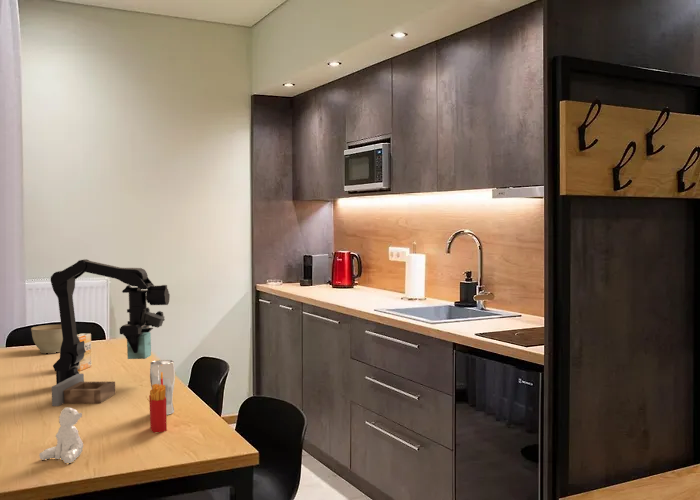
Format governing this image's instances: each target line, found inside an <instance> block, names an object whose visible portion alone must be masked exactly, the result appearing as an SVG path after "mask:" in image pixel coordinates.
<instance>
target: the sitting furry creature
mask: <svg viewBox="0 0 700 500" xmlns="http://www.w3.org/2000/svg"><path fill="white" fill-rule="evenodd" d="M82 417H83V412H79V411H78V410H77V409H75V408H73V407H70V406H69V407H64V408H63V409H62V410H61V412H60V414H59V416H58V418H59V419H58V420H59V421H58V423H59V426H60V427H59V428H58V431H57V433H56V434H55V438H56V441H57V442H56V446H52V447H48V448H46V449H44V450H43V451H42V452H39V455H38V456H39V459H40V460H41V459H42V460H45V459H50V458H55V459H60V458H61V460H64V461H63V463H64V464H65V463H71V462H73V461H74V460H75V461H76V460H77V459H78V458H77V457H80V455H81V454H82V453H83V448H84V442H83V439H81V436H80V434H79V430H78V429H77V427H76V426H75V425H76V424H77V423H78V422H79V420H80V419H81V418H82ZM76 458H77V459H76ZM42 460H41V461H42ZM61 460H60V461H61ZM75 461H74V462H75ZM74 462H73V463H74ZM71 464H72V463H71Z"/></svg>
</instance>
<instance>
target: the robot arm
mask: <svg viewBox="0 0 700 500" xmlns="http://www.w3.org/2000/svg"><path fill="white" fill-rule="evenodd" d="M85 273H88V274H92V275H97V276H101V277H102V276H103V277H107V278H112V279H115V280H118V281H120V282H121V283H123V284H126V286H125V288H124V289H123V290H122V291H121V293H123V294H124V293H127V294H128V308H127V309H126V313H128V314H129V315H128V316H129V318H128V319H129V321H126V322H127V323H125V324H123V325H121V326H120V327H119V335H123V336H124V337H125V339H126V342H127V341H128V342H129V344H130V346H131V348H132V350H133V352H134V353H138V346H139V337H140V336H141V335H142V334H143V333H141V332H150V333H151V331H152V330H153V329H154V328H160V327H162V326H163V323H164V322H165V316H164V312H163V311H161V310H159V311H157V312H156V313H155V312H151V311H150V308H149V307H148V306H147V304H149V305H150V306H168V305H169V302H170V297H171V295H170V291H169V289H168V285H167V284H162V285H154V283H153V282H152V281H151V279H150V278H149V277H148V272H147V271H146V270H145V269H144V268H143V267H142V268H141V267H120V266H114V265H110V264H105V263H101V262H98V261H97V262H96V261H92V260H89V259H85V258H84V259H79V260H78V261H77V262H75V263H73V264H72V265H70V266H68V267H67V268H64V269H63V270H58V271H55V272H54V273H53V274H52V275H51V276H50V283H51V287H52V288H51V289H52V290H53V292H54V294H55V296H56V297H57V302H58V310H59V318H60V325H61V328H62V336H63V341H62V344H61V348H60V352H59V358H58V359H57V360H56V362H54V363H53V365H52V367H53V369H54V372H55V381H56V384H58V383H60V382H62V381H64V380H66V379H68V378H70V377H72V376H74V375H76V374H80V371H78V367H76V366H78V365H79V362H80V361H81V360H82V359H83V358H84V353H85V352H86V351H85V348H84V341H81V342H80V340H79V339H78V337H77V335H78V332H77V324H76V314H75V305H74V299H73V297H74V296H73V295H74V291H75V288H76V280H77V279H78V278H80V277H81V276H82V275H83V274H85ZM150 326H151V327H150ZM56 384H55V385H56Z"/></svg>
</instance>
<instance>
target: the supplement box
mask: <svg viewBox="0 0 700 500" xmlns="http://www.w3.org/2000/svg"><path fill="white" fill-rule="evenodd" d="M77 337H78V339H79V340H80V342H81V341H84V348H85V351H86V352H85V353H84V358H83V359H82V360H81V361H80V362H79V365H78V366H76V367H78V372H81V371H83V370H86V369H89V368H92V364H93V363H92V334H91V333H79V334H78V333H77Z"/></svg>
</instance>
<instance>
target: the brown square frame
mask: <svg viewBox="0 0 700 500" xmlns="http://www.w3.org/2000/svg"><path fill="white" fill-rule="evenodd" d="M114 395H116V381H84V382H79V383H77V384H75V385H73V386H71V387H69V388H67V389H66V390H64V403H63V404H102V403H103V402H104V401H107V400H108V399H109V398H111V397H113V396H114Z"/></svg>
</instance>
